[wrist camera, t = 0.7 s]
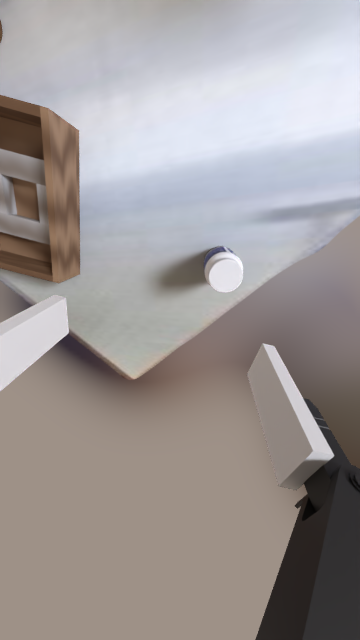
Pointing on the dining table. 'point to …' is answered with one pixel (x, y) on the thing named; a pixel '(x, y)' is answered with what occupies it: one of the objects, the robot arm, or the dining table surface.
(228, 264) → the pill bottle
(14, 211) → the box
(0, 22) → the dowel
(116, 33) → the dining table surface
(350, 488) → the robot arm
